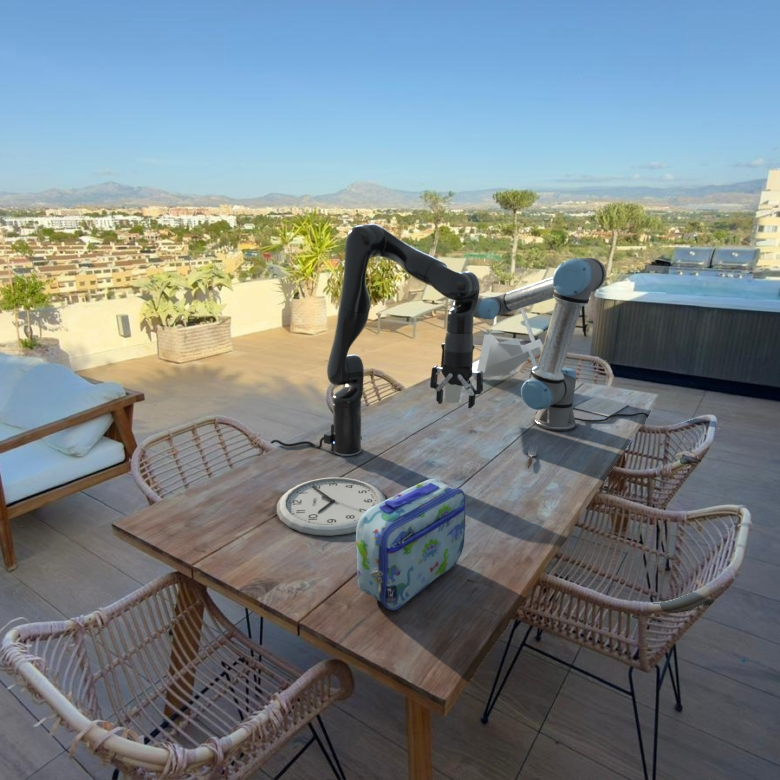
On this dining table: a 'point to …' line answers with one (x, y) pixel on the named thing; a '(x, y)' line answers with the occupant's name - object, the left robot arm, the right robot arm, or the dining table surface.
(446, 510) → the lunch box
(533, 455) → the fork
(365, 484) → the wall clock
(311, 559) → the dining table surface
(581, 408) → the invitation card
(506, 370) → the white plastic object
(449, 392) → the bar
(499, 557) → the dining table surface
